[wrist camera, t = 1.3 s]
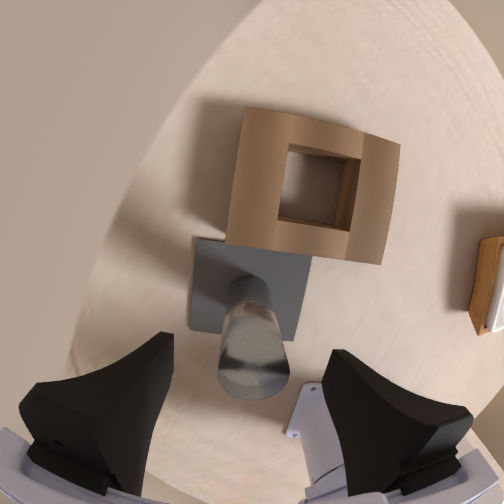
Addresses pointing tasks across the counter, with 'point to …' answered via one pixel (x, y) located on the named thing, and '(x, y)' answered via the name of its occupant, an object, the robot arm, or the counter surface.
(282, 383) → the peg
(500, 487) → the milk
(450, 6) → the counter surface
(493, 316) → the soap dish
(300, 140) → the block
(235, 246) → the mat
